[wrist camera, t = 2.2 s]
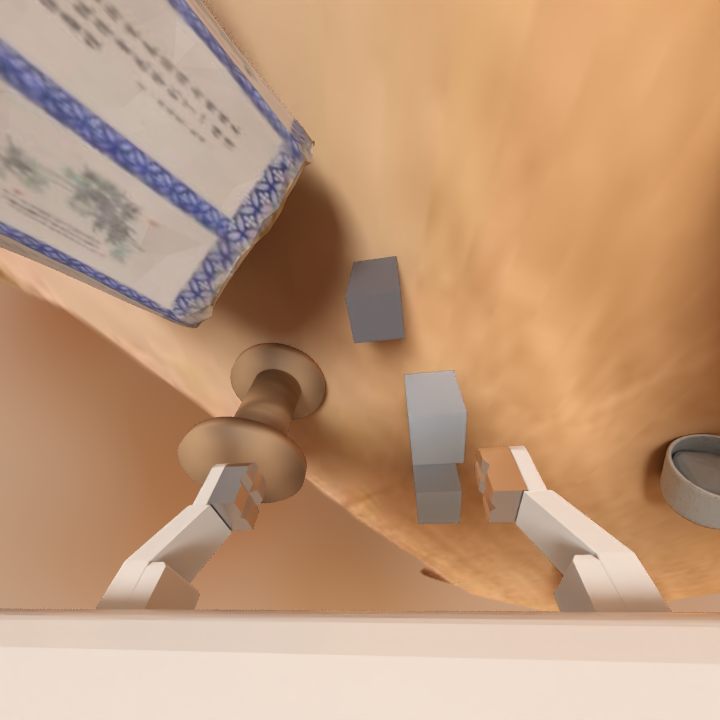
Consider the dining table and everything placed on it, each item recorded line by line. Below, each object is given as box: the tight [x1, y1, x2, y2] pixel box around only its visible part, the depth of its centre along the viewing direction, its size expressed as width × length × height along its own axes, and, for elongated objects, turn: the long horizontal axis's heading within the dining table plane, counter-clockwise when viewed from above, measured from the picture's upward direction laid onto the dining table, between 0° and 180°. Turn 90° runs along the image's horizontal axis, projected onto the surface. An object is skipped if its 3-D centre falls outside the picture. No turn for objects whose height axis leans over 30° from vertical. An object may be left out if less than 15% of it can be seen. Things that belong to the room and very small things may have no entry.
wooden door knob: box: [178, 343, 325, 503], centre depth 28 cm, size 10×10×11 cm
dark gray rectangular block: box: [345, 256, 404, 343], centre depth 23 cm, size 4×4×7 cm
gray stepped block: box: [404, 370, 467, 524], centre depth 34 cm, size 5×19×6 cm, turn 9°
